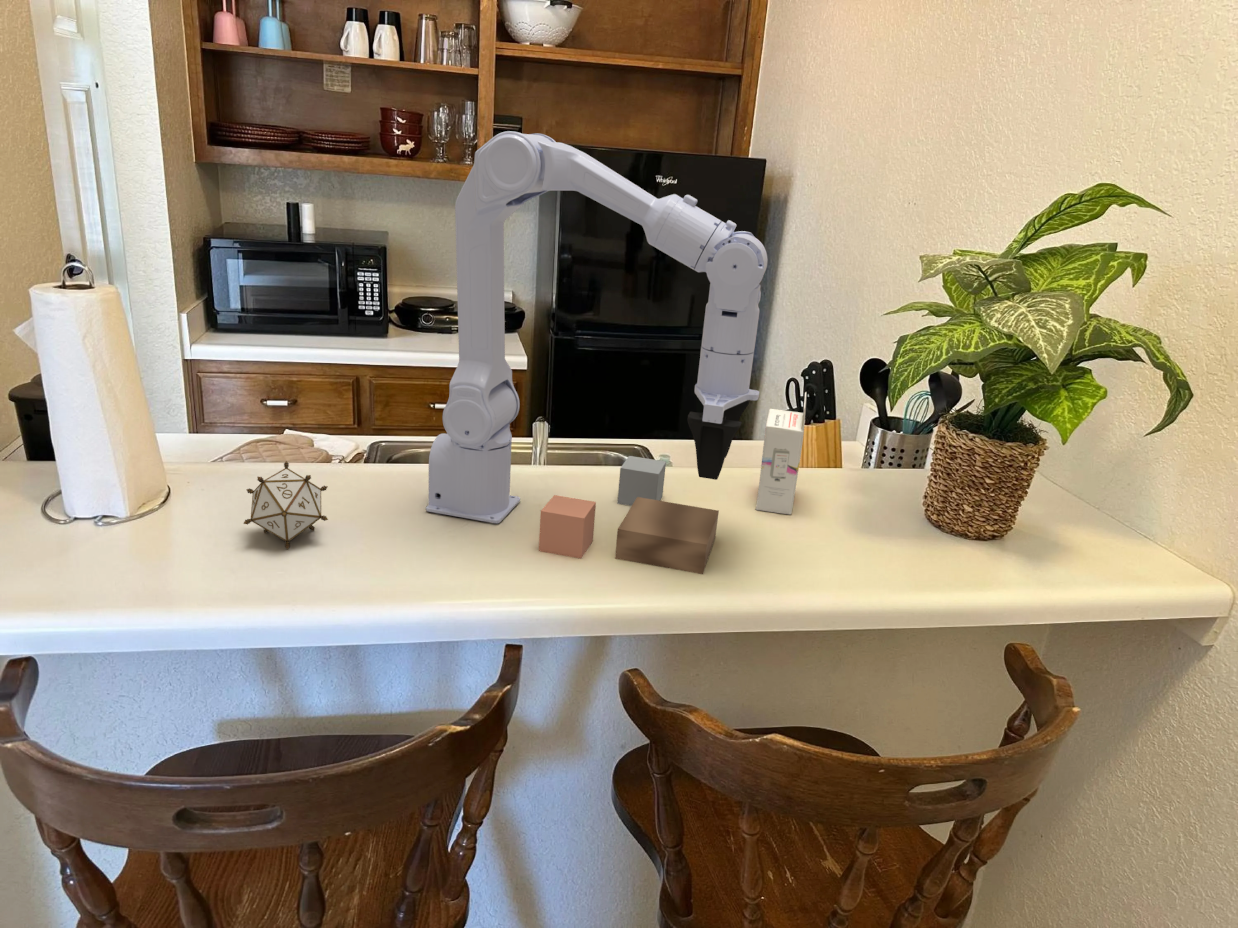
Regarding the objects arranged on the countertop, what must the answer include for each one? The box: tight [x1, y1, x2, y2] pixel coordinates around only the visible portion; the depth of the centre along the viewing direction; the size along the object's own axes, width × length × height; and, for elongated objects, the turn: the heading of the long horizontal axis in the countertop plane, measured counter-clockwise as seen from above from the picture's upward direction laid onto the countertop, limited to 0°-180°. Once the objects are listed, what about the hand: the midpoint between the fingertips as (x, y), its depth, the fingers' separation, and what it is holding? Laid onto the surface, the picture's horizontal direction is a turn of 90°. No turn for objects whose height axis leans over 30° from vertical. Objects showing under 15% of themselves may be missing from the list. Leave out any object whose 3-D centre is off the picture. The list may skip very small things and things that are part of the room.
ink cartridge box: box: [755, 391, 807, 515], centre depth 115 cm, size 9×5×15 cm, turn 168°
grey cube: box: [617, 455, 667, 507], centre depth 114 cm, size 5×5×5 cm
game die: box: [242, 460, 329, 550], centre depth 95 cm, size 9×8×10 cm
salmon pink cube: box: [538, 494, 597, 559], centre depth 99 cm, size 5×5×5 cm
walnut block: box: [614, 497, 720, 575], centre depth 101 cm, size 10×10×4 cm
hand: (713, 466), depth 99 cm, fingers open, 7 cm apart
